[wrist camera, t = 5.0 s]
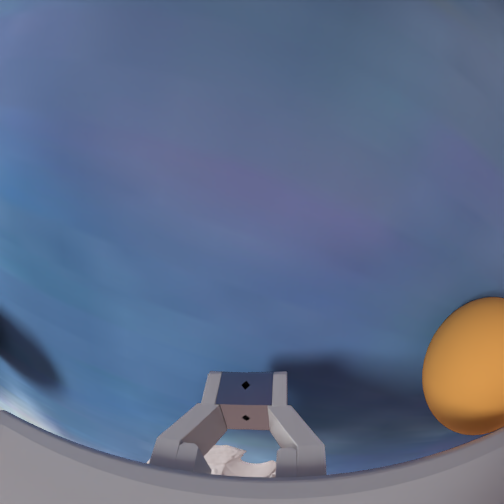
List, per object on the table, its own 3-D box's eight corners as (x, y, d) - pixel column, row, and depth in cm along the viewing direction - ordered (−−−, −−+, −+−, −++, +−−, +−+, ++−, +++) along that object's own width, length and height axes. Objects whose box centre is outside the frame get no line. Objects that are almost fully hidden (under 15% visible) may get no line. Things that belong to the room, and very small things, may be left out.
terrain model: (313, 497, 28) (315, 527, 24) (139, 466, 25) (130, 502, 20) (405, 451, 21) (414, 492, 17) (167, 413, 17) (151, 477, 13)
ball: (421, 276, 10) (492, 390, 5) (516, 266, 10) (586, 343, 4) (393, 375, 13) (421, 474, 8) (480, 355, 12) (519, 433, 7)
